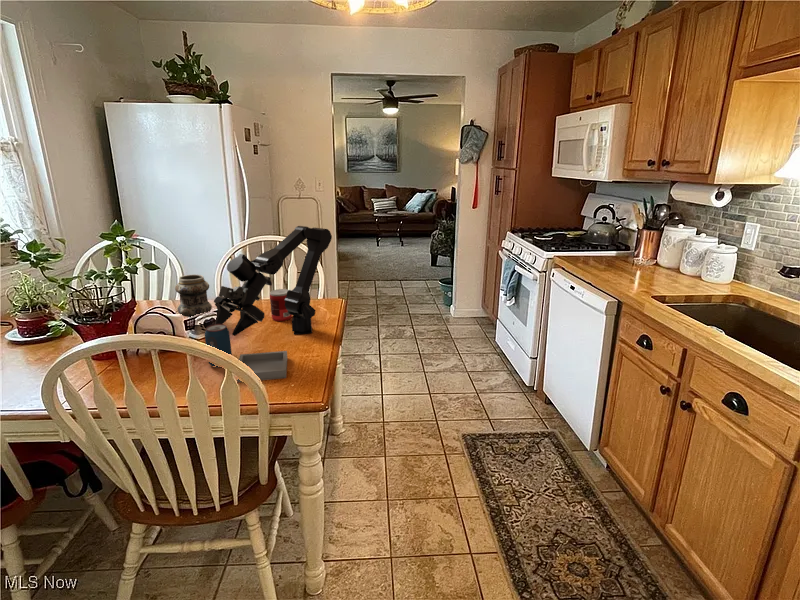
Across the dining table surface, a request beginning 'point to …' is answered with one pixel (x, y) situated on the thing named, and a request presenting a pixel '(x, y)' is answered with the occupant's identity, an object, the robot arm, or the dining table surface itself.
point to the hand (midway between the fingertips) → (224, 331)
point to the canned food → (279, 305)
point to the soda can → (218, 338)
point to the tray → (267, 364)
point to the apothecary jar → (193, 295)
